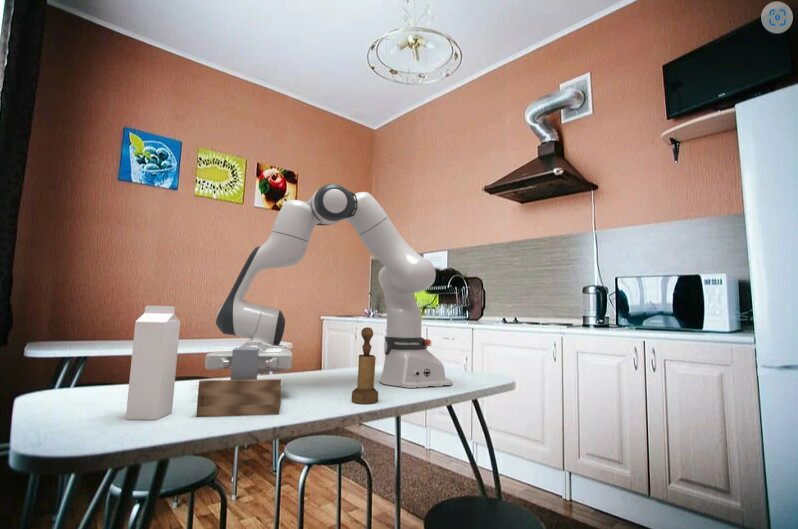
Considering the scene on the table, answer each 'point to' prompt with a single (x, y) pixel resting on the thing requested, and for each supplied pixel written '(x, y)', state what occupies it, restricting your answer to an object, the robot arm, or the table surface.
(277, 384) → the brown wooden block
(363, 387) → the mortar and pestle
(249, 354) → the grey block
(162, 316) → the milk
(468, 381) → the table surface
